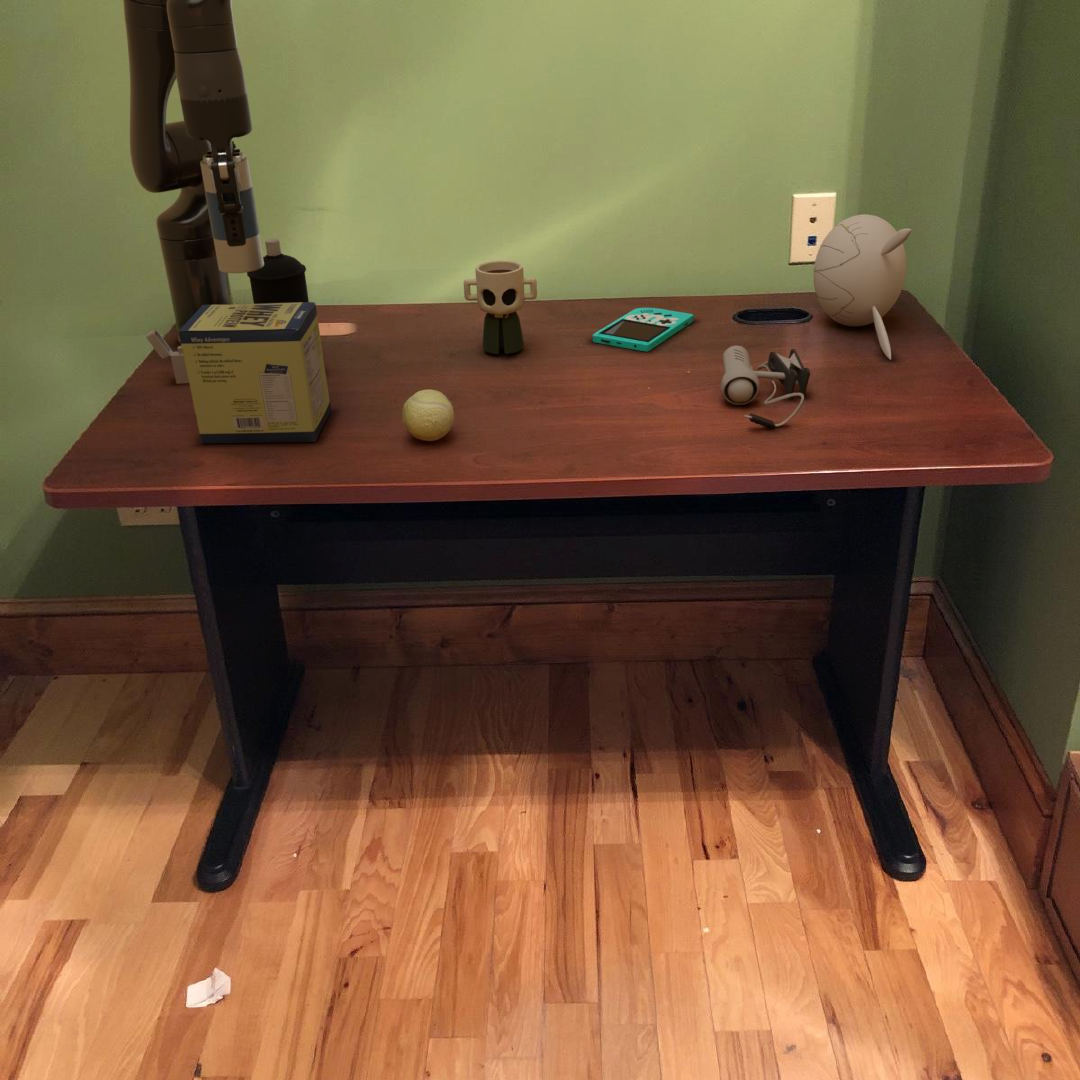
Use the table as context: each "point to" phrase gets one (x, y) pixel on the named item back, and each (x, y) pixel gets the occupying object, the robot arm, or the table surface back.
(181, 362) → the lighter
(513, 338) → the character mug
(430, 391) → the tennis ball
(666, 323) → the handheld game console
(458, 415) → the table surface
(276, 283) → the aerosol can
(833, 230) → the beige egg-shaped piece
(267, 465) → the table surface
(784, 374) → the clip-on lamp
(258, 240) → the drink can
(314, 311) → the protein box
